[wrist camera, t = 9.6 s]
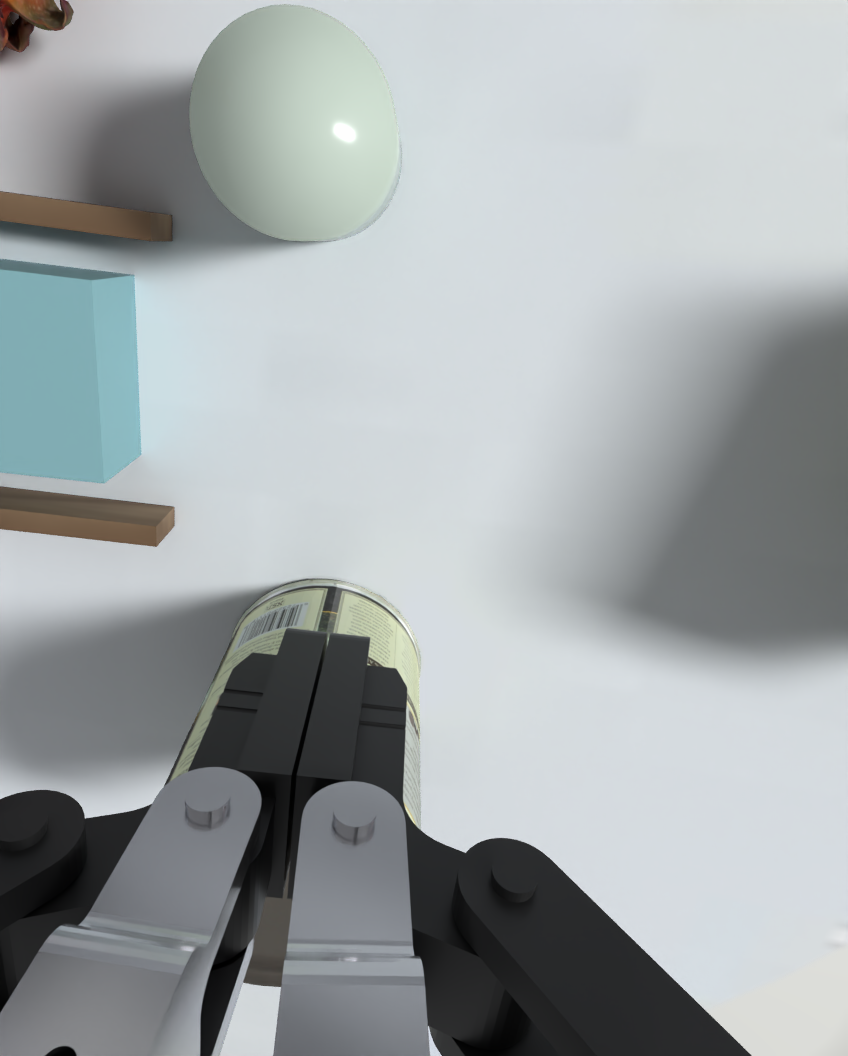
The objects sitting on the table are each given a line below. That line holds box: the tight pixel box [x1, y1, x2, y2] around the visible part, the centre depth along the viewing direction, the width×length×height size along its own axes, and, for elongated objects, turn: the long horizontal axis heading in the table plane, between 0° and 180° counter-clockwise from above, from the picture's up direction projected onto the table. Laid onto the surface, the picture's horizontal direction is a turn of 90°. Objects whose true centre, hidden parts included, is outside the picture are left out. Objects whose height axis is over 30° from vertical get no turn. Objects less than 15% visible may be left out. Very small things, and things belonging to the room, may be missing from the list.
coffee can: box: [164, 579, 421, 987], centre depth 31 cm, size 10×10×14 cm
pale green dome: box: [189, 4, 402, 241], centre depth 25 cm, size 6×6×7 cm
